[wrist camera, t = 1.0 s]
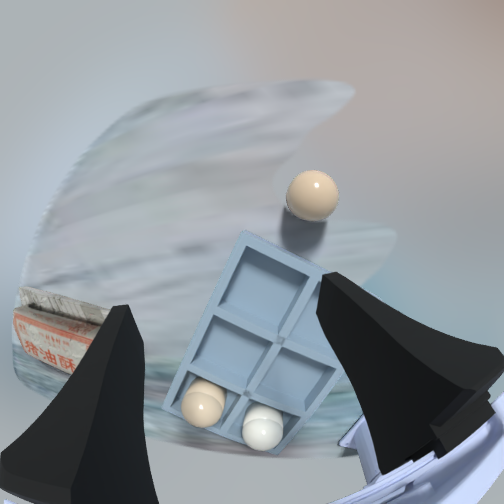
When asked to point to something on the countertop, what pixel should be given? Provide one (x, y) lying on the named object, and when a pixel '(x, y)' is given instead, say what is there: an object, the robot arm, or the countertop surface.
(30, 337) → the packaged product
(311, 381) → the egg carton
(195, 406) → the seated egg
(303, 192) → the loose egg
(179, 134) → the countertop surface
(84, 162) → the countertop surface
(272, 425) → the seated egg
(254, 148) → the countertop surface
